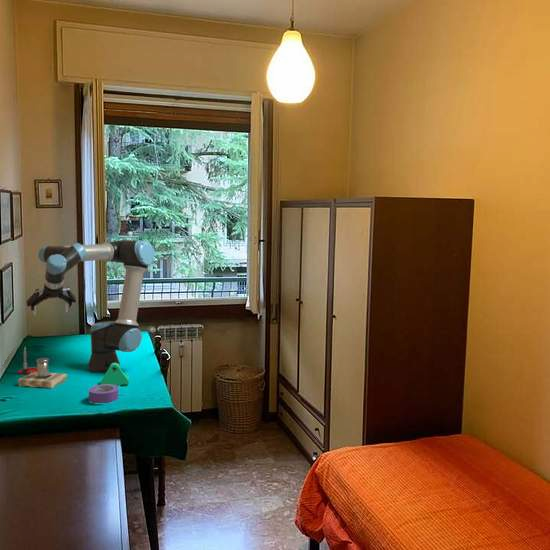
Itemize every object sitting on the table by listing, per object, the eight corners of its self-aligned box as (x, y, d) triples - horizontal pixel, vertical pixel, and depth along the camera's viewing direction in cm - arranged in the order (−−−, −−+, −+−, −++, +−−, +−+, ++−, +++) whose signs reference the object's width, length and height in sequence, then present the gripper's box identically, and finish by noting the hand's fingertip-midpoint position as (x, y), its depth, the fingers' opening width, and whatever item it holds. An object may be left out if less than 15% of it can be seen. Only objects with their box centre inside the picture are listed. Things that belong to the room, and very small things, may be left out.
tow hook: (27, 369, 267) (16, 373, 258) (27, 343, 267) (15, 347, 257) (43, 370, 266) (32, 375, 257) (43, 344, 265) (32, 348, 256)
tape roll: (124, 400, 225) (124, 388, 225) (98, 407, 216) (98, 395, 216) (108, 393, 233) (108, 382, 232) (83, 400, 224) (83, 388, 224)
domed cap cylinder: (52, 381, 247) (51, 358, 246) (45, 385, 242) (44, 361, 241) (41, 380, 248) (40, 357, 247) (34, 384, 243) (33, 360, 242)
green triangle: (129, 381, 250) (128, 359, 249) (128, 386, 243) (128, 364, 241) (102, 382, 248) (101, 360, 246) (100, 387, 240) (99, 365, 239)
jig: (66, 380, 249) (66, 374, 249) (51, 388, 238) (51, 382, 237) (35, 378, 252) (35, 371, 252) (18, 386, 240) (18, 379, 240)
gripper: (22, 292, 223) (21, 321, 238) (85, 288, 235) (80, 315, 250) (20, 278, 227) (19, 307, 242) (82, 274, 239) (78, 302, 254)
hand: (50, 311), depth 246 cm, fingers open, 13 cm apart
